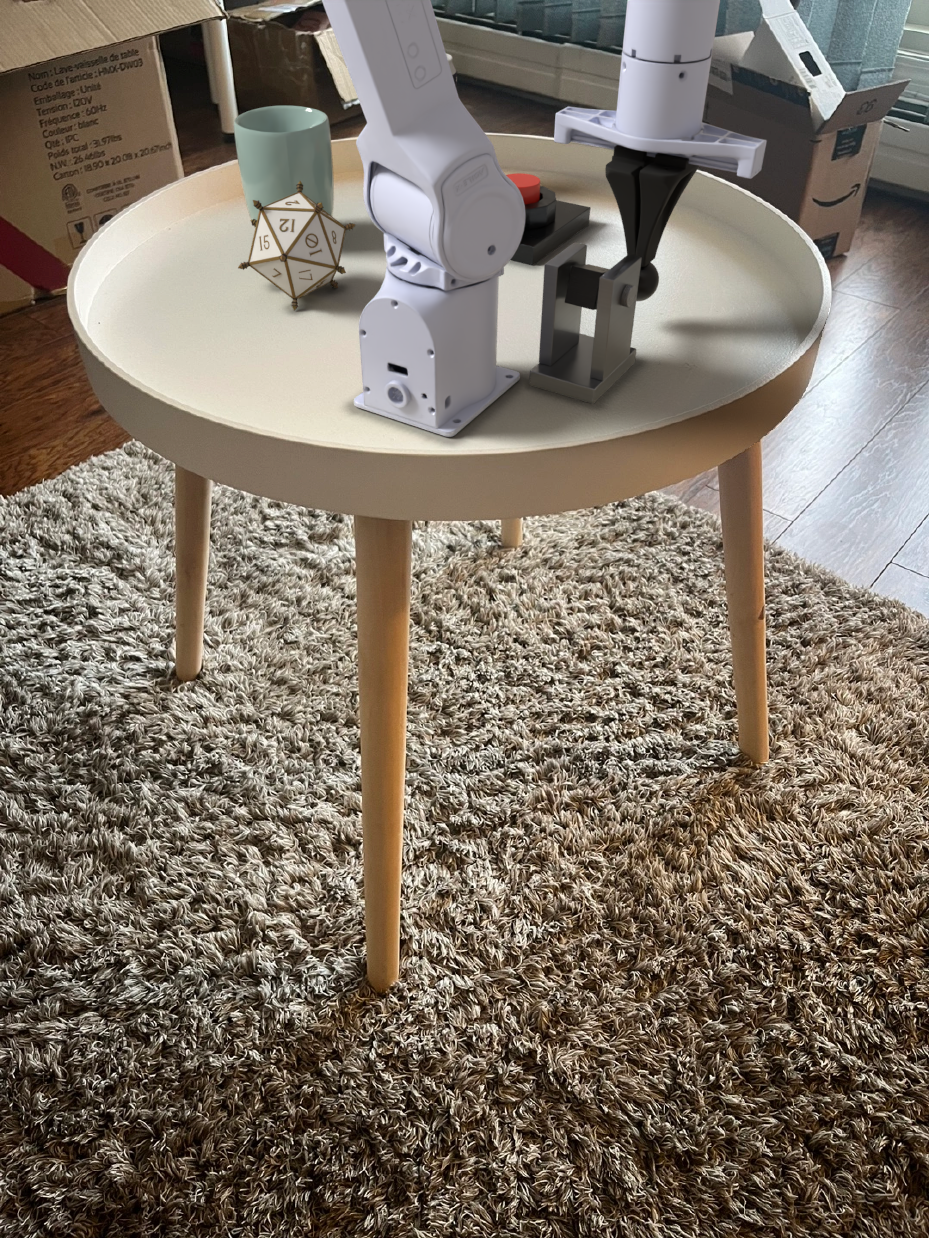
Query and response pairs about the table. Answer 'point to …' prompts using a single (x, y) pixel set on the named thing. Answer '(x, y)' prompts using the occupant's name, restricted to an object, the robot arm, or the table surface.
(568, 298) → the switch lever
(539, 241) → the control block
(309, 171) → the cup
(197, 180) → the table surface
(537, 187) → the stop button
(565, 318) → the switch bracket
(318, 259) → the game die
